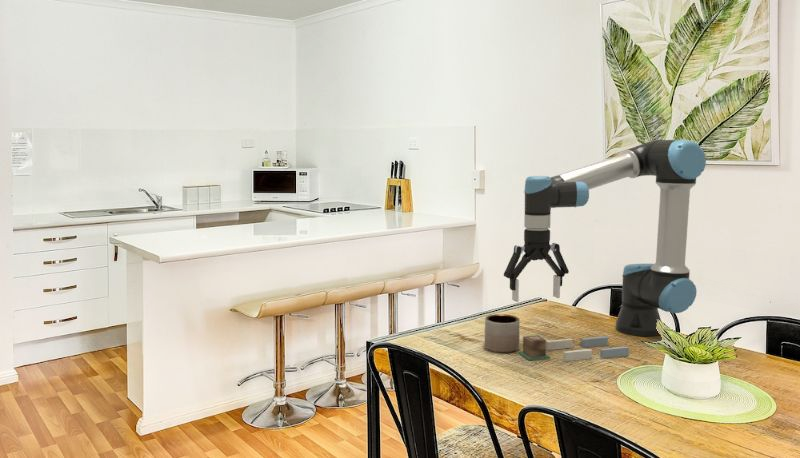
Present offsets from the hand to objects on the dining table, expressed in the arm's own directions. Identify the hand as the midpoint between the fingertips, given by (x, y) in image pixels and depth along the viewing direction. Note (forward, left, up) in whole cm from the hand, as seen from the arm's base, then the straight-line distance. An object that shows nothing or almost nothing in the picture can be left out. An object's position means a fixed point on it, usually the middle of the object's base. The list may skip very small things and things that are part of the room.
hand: (536, 298), depth 196 cm
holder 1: (-11, +1, -18) cm, 21 cm away
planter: (+6, -10, -18) cm, 21 cm away
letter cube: (0, 0, -17) cm, 17 cm away
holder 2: (-23, +2, -18) cm, 29 cm away
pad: (0, 0, -18) cm, 18 cm away
